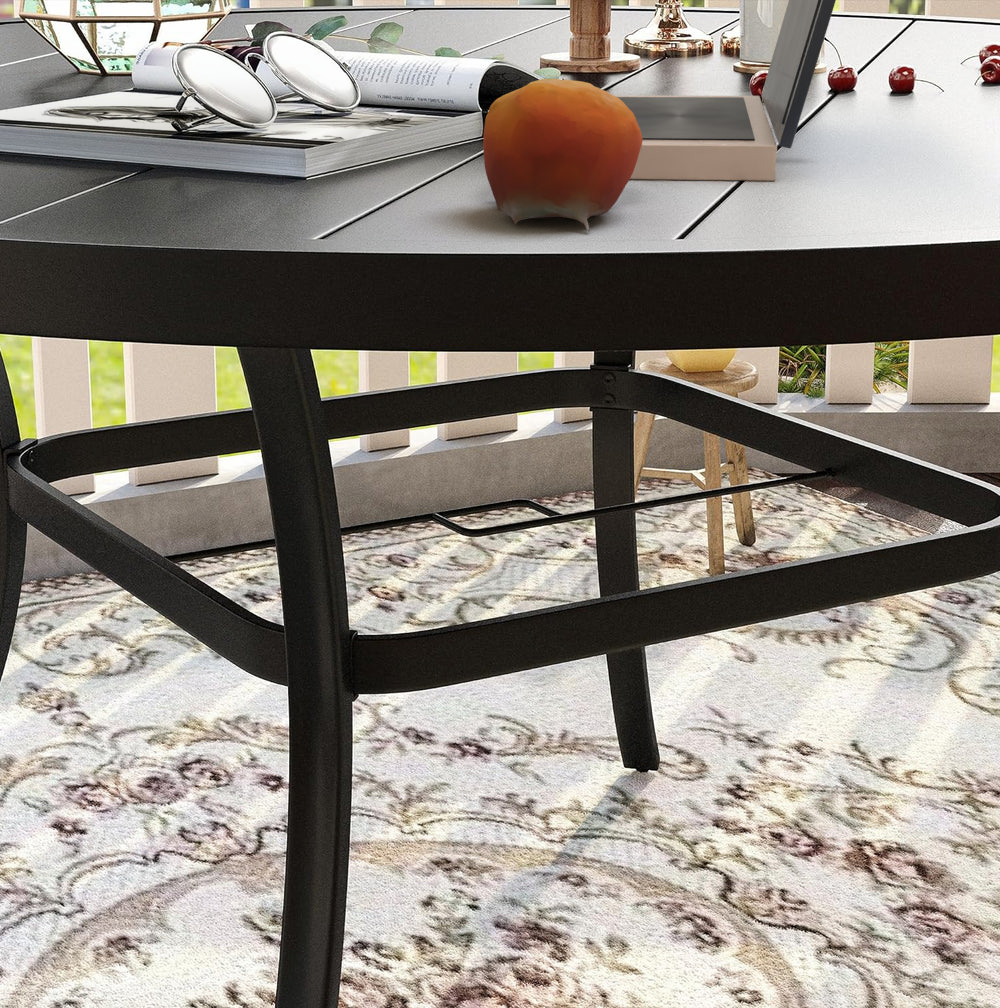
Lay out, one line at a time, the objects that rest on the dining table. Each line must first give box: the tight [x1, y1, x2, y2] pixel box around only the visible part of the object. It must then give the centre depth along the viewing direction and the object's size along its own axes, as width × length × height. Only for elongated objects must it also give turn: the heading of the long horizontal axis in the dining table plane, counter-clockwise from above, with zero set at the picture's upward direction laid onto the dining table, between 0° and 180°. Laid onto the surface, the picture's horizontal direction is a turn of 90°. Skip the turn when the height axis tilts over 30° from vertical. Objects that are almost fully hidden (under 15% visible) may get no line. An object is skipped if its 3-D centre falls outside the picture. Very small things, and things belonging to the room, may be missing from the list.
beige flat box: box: [613, 94, 778, 182], centre depth 91 cm, size 15×22×2 cm
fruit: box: [482, 78, 642, 233], centre depth 71 cm, size 8×8×8 cm
